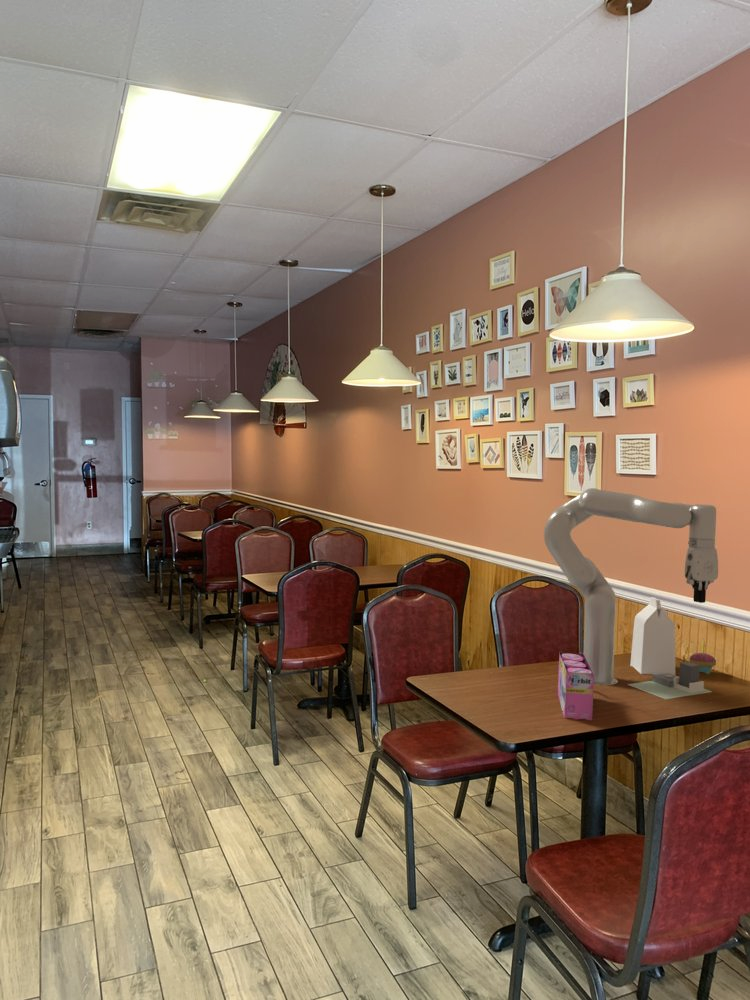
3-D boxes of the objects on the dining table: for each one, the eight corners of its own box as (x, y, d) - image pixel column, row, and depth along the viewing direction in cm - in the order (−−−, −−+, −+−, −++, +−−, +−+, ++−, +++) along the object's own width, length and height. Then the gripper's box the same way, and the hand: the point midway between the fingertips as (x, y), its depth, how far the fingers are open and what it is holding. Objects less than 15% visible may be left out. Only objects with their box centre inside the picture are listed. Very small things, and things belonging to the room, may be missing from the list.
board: (665, 703, 224) (665, 699, 224) (626, 688, 239) (627, 684, 239) (712, 695, 233) (712, 691, 233) (672, 681, 247) (672, 677, 247)
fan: (669, 687, 236) (669, 680, 236) (652, 681, 243) (652, 674, 242) (685, 684, 239) (685, 677, 239) (668, 678, 245) (668, 672, 245)
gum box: (556, 692, 233) (557, 650, 232) (582, 694, 231) (584, 651, 231) (564, 718, 209) (565, 671, 208) (593, 721, 208) (594, 673, 207)
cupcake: (689, 668, 263) (690, 635, 262) (715, 672, 259) (717, 638, 258) (688, 675, 255) (689, 640, 254) (715, 678, 251) (716, 643, 251)
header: (690, 693, 231) (690, 683, 231) (673, 686, 237) (673, 677, 237) (703, 690, 233) (704, 681, 233) (686, 684, 239) (686, 675, 239)
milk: (630, 667, 263) (632, 595, 261) (663, 668, 262) (665, 595, 261) (640, 677, 251) (643, 601, 249) (675, 678, 250) (678, 602, 249)
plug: (690, 691, 232) (691, 666, 232) (677, 687, 237) (678, 662, 236) (698, 690, 234) (699, 665, 233) (685, 685, 238) (686, 661, 238)
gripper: (694, 546, 226) (691, 605, 227) (728, 544, 232) (726, 602, 233) (674, 543, 233) (672, 601, 234) (708, 542, 239) (706, 598, 240)
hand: (699, 601), depth 233 cm, fingers closed
